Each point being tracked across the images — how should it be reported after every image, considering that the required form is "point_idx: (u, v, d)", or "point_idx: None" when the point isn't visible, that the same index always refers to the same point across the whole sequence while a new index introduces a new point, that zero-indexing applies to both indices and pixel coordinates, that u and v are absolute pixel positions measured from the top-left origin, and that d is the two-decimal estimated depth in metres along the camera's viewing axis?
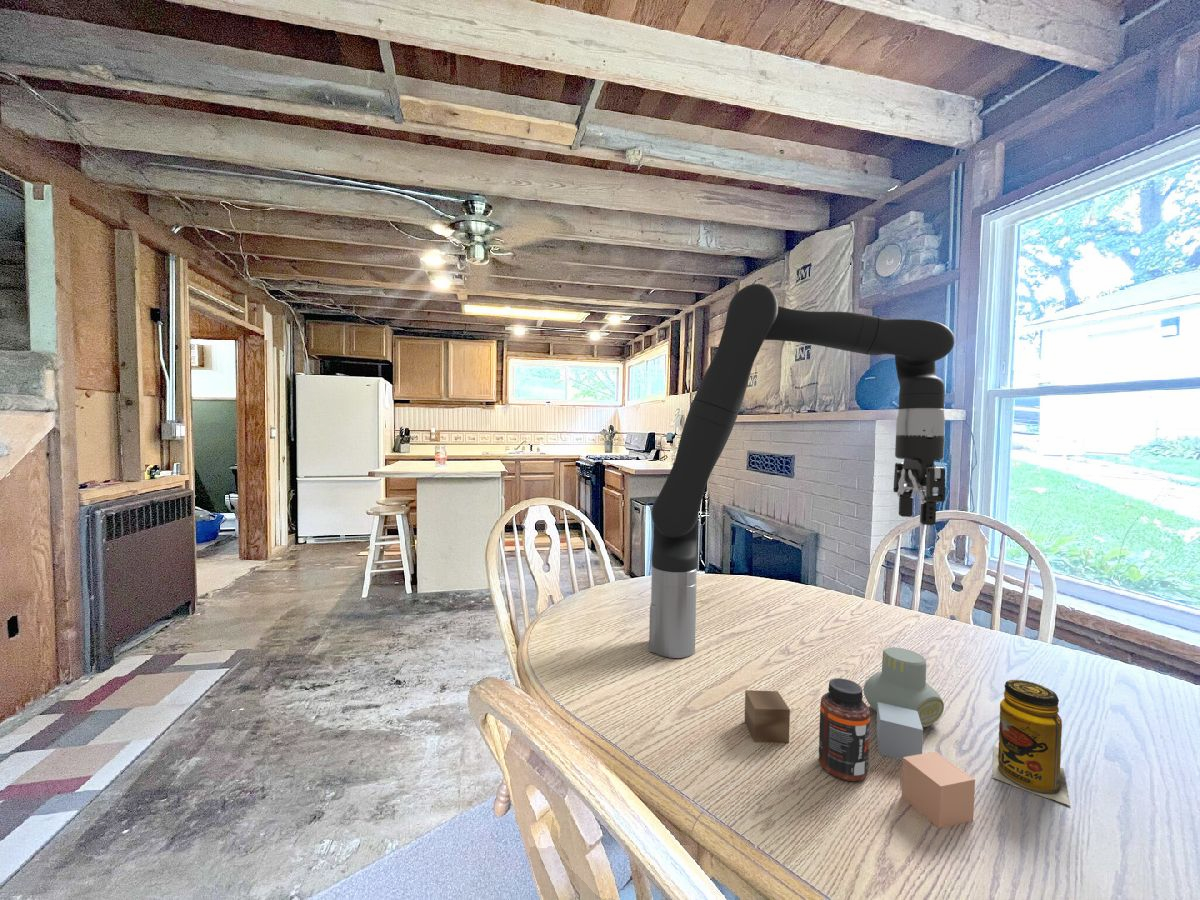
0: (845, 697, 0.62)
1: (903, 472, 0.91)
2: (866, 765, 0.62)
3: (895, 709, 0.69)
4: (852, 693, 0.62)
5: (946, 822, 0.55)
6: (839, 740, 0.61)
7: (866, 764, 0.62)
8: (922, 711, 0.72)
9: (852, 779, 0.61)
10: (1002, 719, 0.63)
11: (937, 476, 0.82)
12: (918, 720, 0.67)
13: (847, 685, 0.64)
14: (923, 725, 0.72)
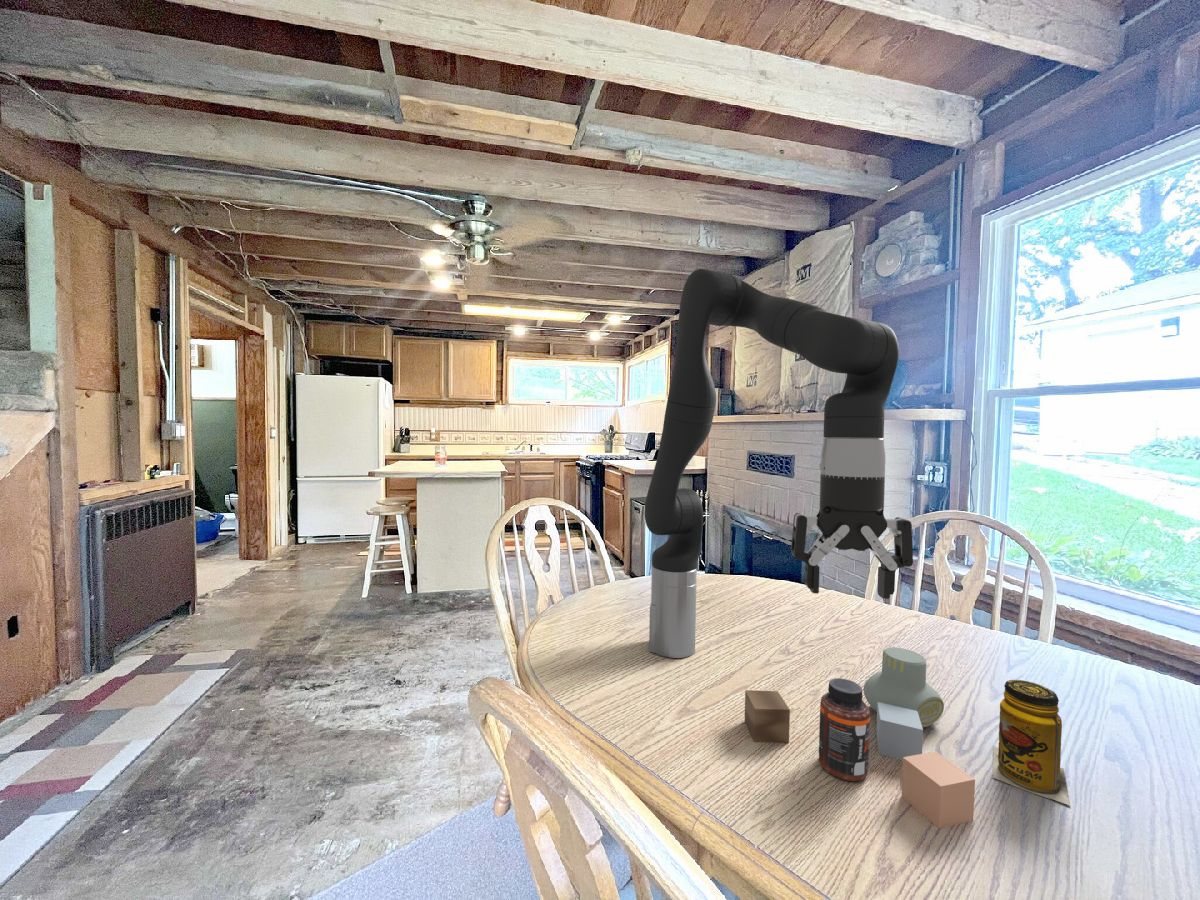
0: (845, 697, 0.62)
1: (844, 530, 0.61)
2: (866, 765, 0.62)
3: (895, 709, 0.69)
4: (852, 693, 0.62)
5: (946, 822, 0.55)
6: (839, 740, 0.61)
7: (866, 764, 0.62)
8: (922, 711, 0.72)
9: (852, 779, 0.61)
10: (1002, 719, 0.63)
11: None
12: (918, 720, 0.67)
13: (847, 685, 0.64)
14: (923, 725, 0.72)
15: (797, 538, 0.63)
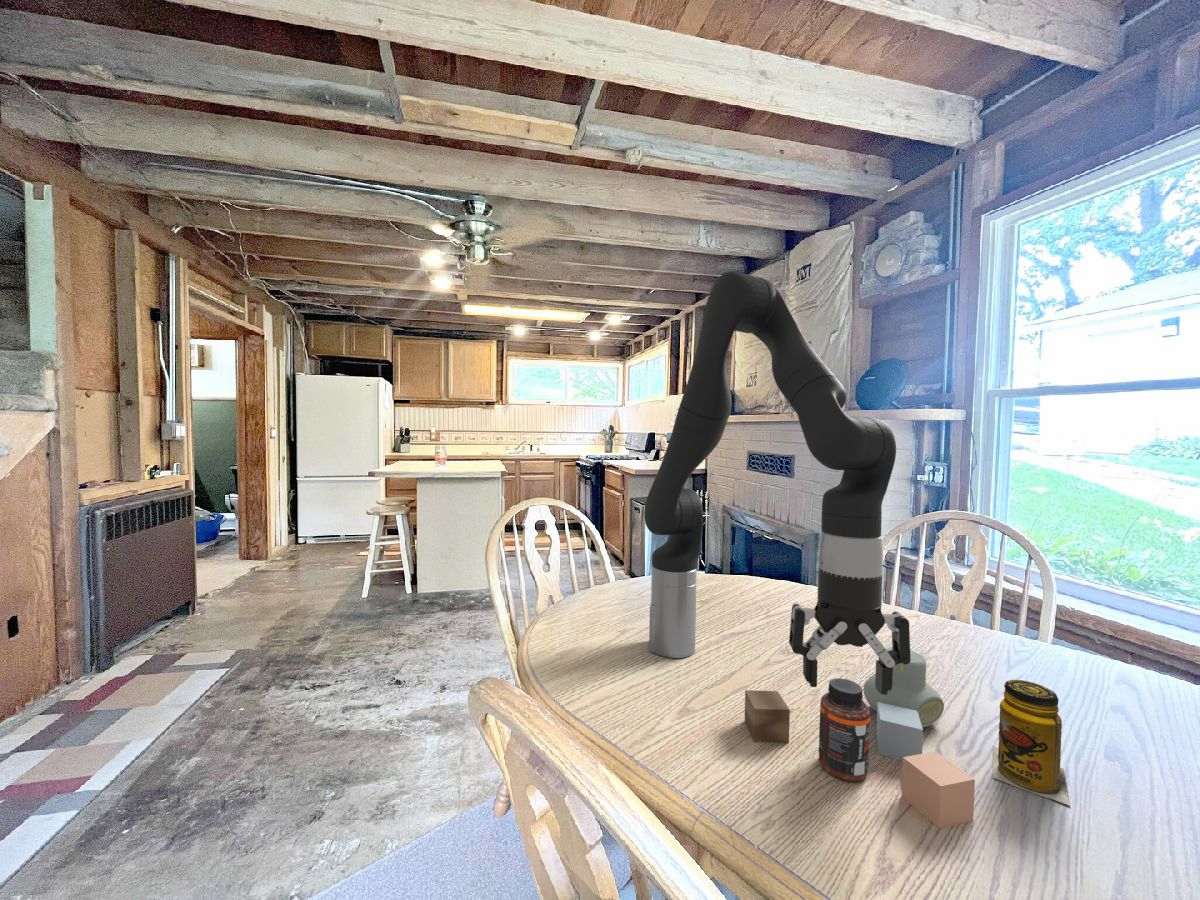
0: (845, 697, 0.62)
1: (842, 627, 0.62)
2: (866, 765, 0.62)
3: (895, 709, 0.69)
4: (852, 693, 0.62)
5: (946, 822, 0.55)
6: (839, 740, 0.61)
7: (866, 764, 0.62)
8: (922, 711, 0.72)
9: (852, 779, 0.61)
10: (1002, 719, 0.63)
11: None
12: (918, 720, 0.67)
13: (847, 685, 0.64)
14: (923, 725, 0.72)
15: (795, 632, 0.64)
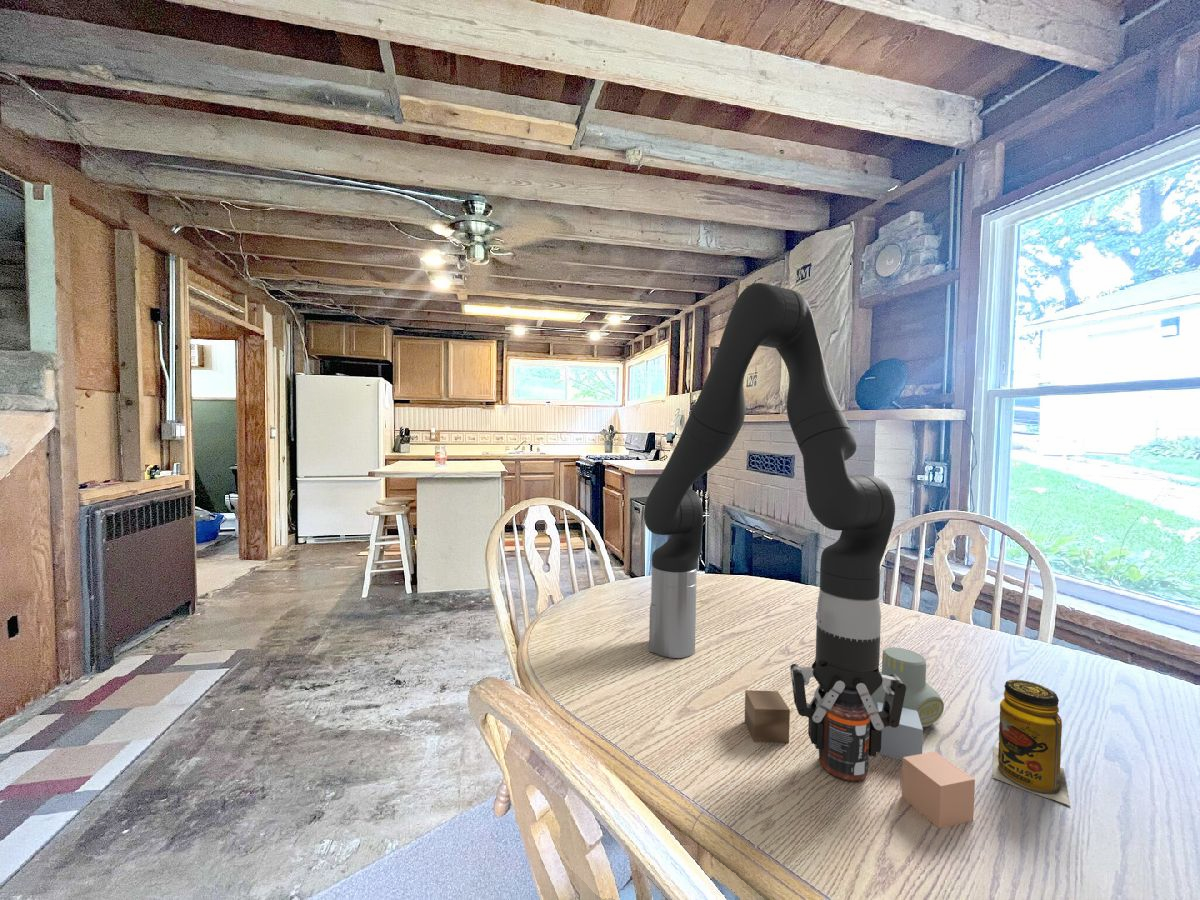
0: (845, 696, 0.62)
1: (840, 686, 0.62)
2: (866, 765, 0.62)
3: None
4: (852, 693, 0.62)
5: (946, 822, 0.55)
6: (839, 740, 0.61)
7: (866, 764, 0.62)
8: (922, 711, 0.72)
9: (852, 779, 0.61)
10: (1002, 719, 0.63)
11: None
12: (918, 720, 0.67)
13: None
14: (923, 725, 0.72)
15: (797, 695, 0.64)
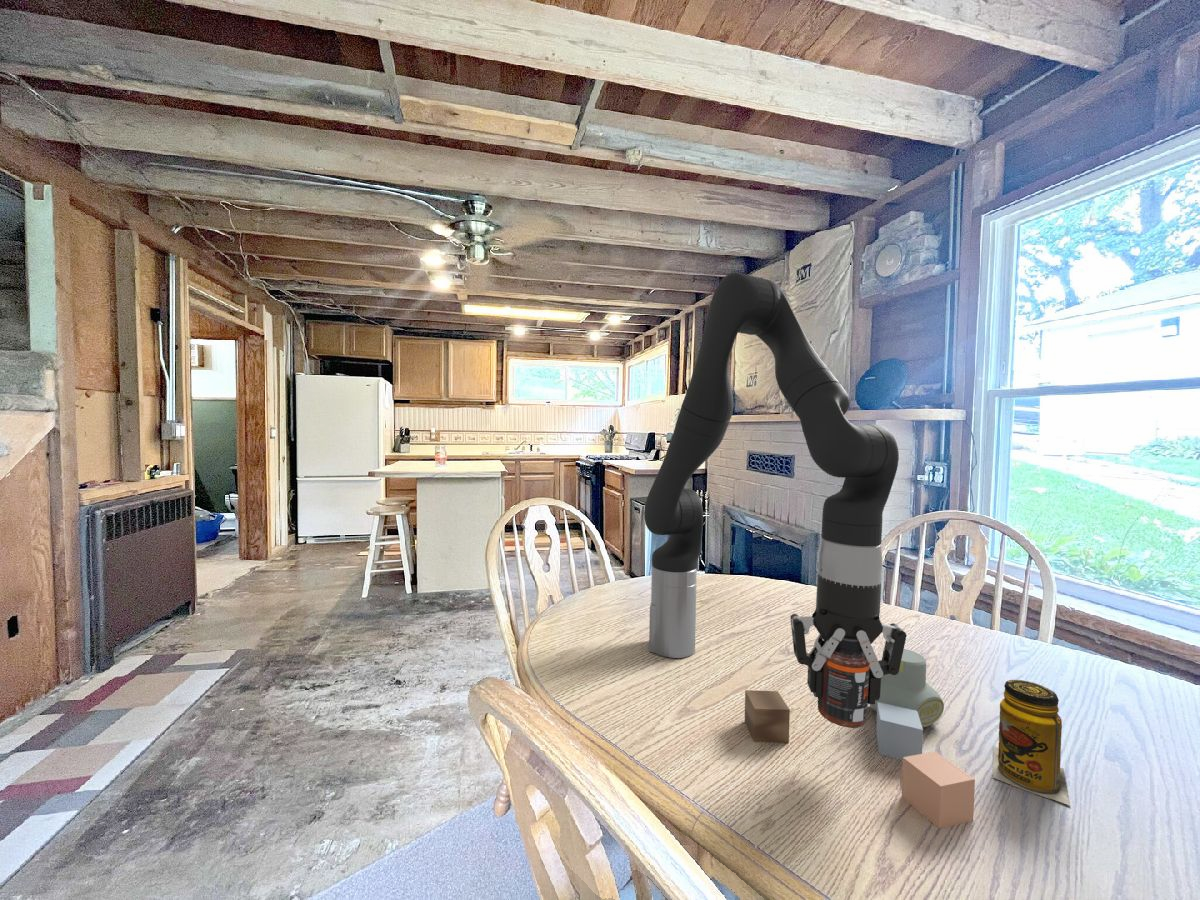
0: (845, 644, 0.62)
1: (840, 634, 0.62)
2: (865, 712, 0.62)
3: (895, 709, 0.69)
4: (852, 640, 0.62)
5: (946, 822, 0.55)
6: (839, 687, 0.61)
7: (865, 711, 0.62)
8: (922, 711, 0.72)
9: (851, 725, 0.61)
10: (1002, 719, 0.63)
11: None
12: (918, 720, 0.67)
13: None
14: (923, 725, 0.72)
15: (797, 643, 0.64)
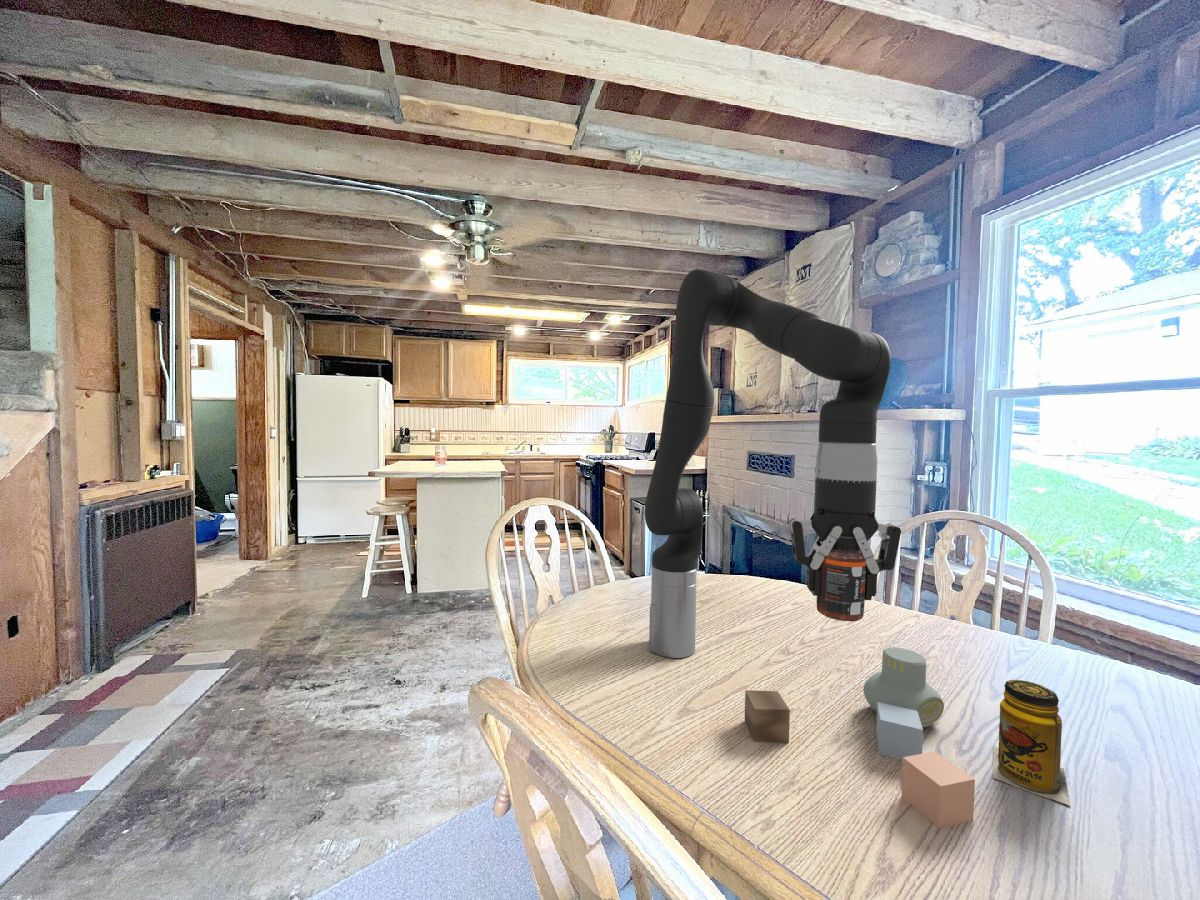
0: (842, 541, 0.64)
1: (837, 531, 0.64)
2: (862, 606, 0.64)
3: (895, 709, 0.69)
4: (849, 537, 0.64)
5: (946, 822, 0.55)
6: (836, 582, 0.64)
7: (862, 605, 0.64)
8: (922, 711, 0.72)
9: (848, 618, 0.63)
10: (1002, 719, 0.63)
11: None
12: (918, 720, 0.67)
13: None
14: (923, 725, 0.72)
15: (796, 543, 0.66)
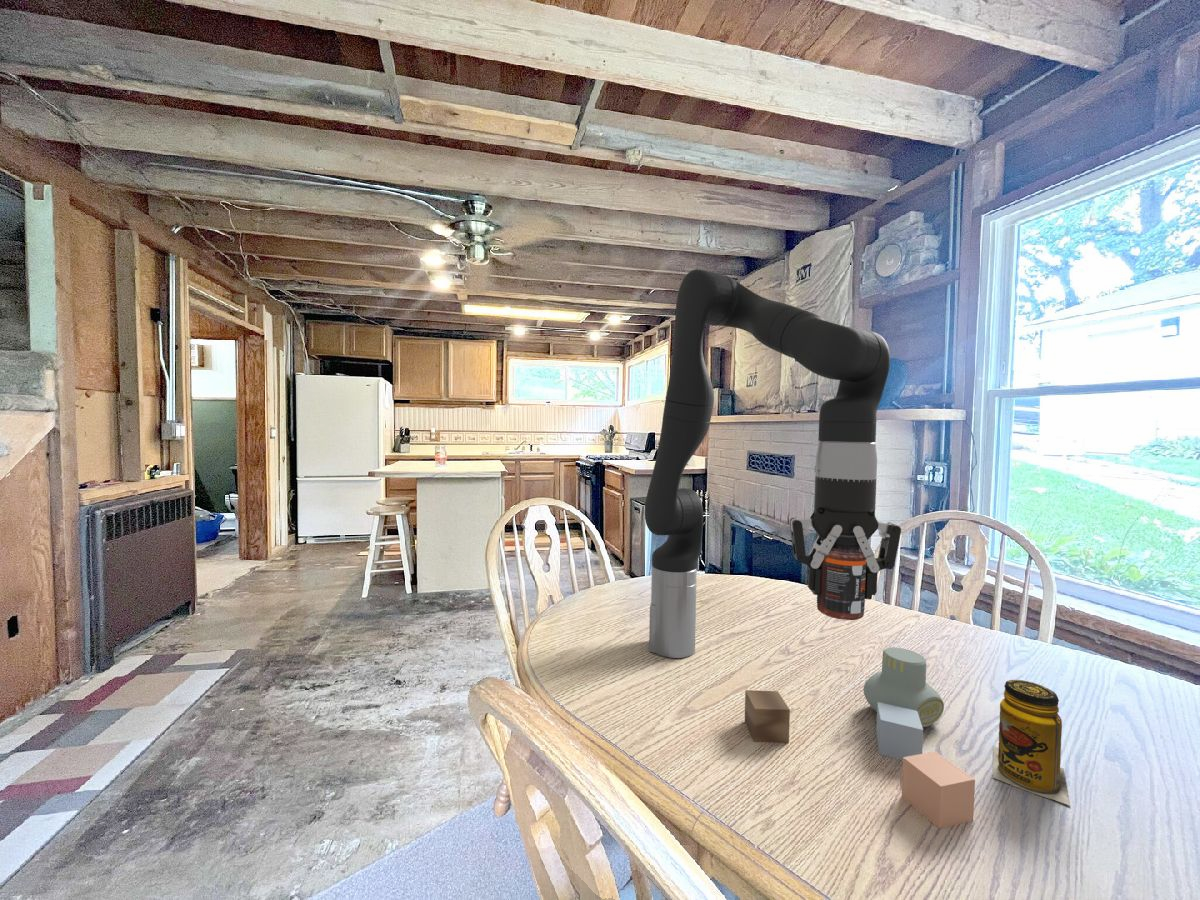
0: (842, 540, 0.64)
1: (837, 530, 0.64)
2: (862, 605, 0.64)
3: (895, 709, 0.69)
4: (849, 536, 0.64)
5: (946, 822, 0.55)
6: (837, 581, 0.64)
7: (862, 604, 0.64)
8: (922, 711, 0.72)
9: (849, 617, 0.63)
10: (1002, 719, 0.63)
11: None
12: (918, 720, 0.67)
13: None
14: (923, 725, 0.72)
15: (796, 542, 0.66)
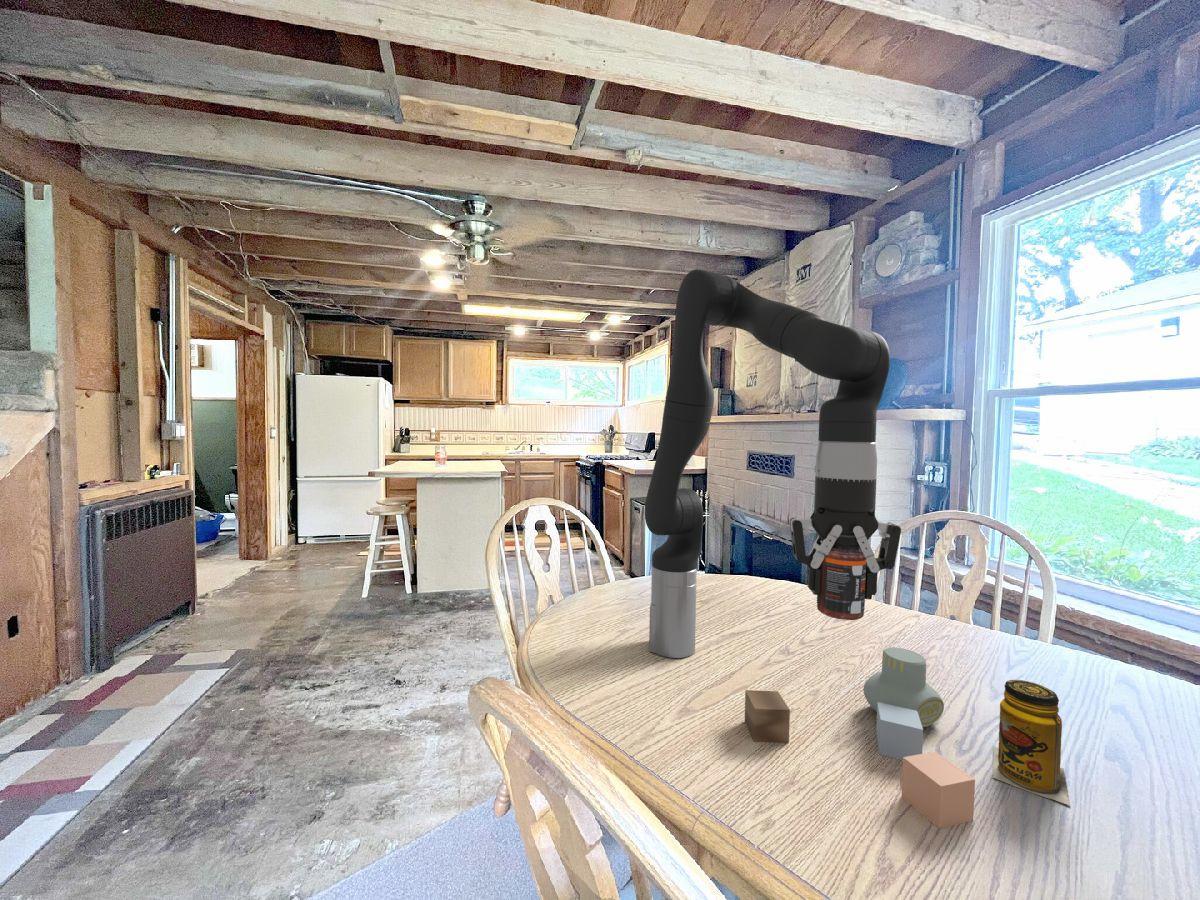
0: (842, 540, 0.64)
1: (837, 530, 0.64)
2: (862, 605, 0.64)
3: (895, 709, 0.69)
4: (849, 536, 0.64)
5: (946, 822, 0.55)
6: (837, 581, 0.64)
7: (862, 604, 0.64)
8: (922, 711, 0.72)
9: (849, 617, 0.63)
10: (1002, 719, 0.63)
11: None
12: (918, 720, 0.67)
13: None
14: (923, 725, 0.72)
15: (796, 542, 0.66)
